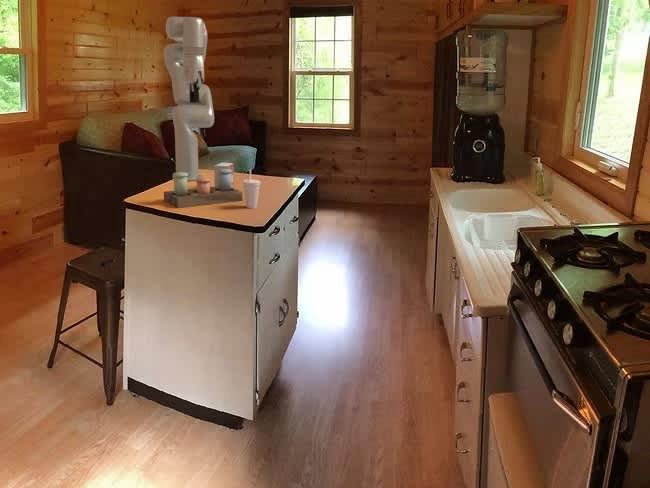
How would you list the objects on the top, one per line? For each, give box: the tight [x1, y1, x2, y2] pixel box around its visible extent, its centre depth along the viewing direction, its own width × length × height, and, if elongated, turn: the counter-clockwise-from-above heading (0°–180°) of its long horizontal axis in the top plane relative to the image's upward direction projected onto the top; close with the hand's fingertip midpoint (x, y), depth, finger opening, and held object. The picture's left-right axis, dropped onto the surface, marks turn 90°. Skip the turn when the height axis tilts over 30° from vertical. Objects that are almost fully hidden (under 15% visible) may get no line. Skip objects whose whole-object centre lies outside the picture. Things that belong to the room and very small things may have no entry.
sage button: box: [172, 171, 189, 196], centre depth 228 cm, size 5×5×8 cm
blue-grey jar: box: [218, 169, 232, 191], centre depth 239 cm, size 5×5×8 cm
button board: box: [163, 186, 243, 209], centre depth 235 cm, size 13×26×3 cm, turn 127°
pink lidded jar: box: [195, 176, 212, 194], centre depth 234 cm, size 5×5×8 cm
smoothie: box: [242, 168, 261, 209], centre depth 227 cm, size 6×6×14 cm
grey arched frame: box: [213, 162, 235, 189], centre depth 254 cm, size 8×6×10 cm
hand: (194, 102), depth 239 cm, fingers closed
